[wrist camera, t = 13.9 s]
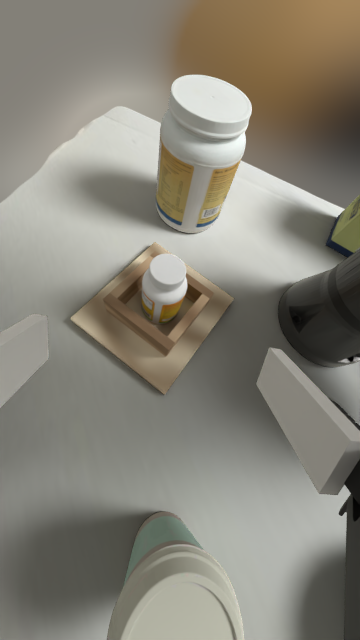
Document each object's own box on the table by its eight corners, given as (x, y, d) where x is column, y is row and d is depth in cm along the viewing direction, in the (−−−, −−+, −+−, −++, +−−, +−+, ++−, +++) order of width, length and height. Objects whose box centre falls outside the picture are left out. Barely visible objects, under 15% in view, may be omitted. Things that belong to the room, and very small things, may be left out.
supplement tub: (212, 192, 46) (250, 80, 30) (221, 238, 41) (269, 134, 26) (153, 185, 44) (161, 61, 28) (155, 233, 39) (165, 117, 24)
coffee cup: (101, 572, 22) (62, 734, 11) (150, 479, 25) (159, 529, 14) (175, 626, 21) (214, 856, 10) (215, 524, 25) (275, 612, 14)
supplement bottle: (182, 298, 34) (198, 256, 25) (173, 329, 31) (186, 296, 22) (147, 287, 33) (151, 241, 24) (136, 318, 31) (135, 280, 22)
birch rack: (154, 246, 38) (156, 225, 34) (231, 301, 36) (243, 287, 32) (72, 321, 31) (61, 306, 26) (164, 394, 29) (168, 391, 25)
